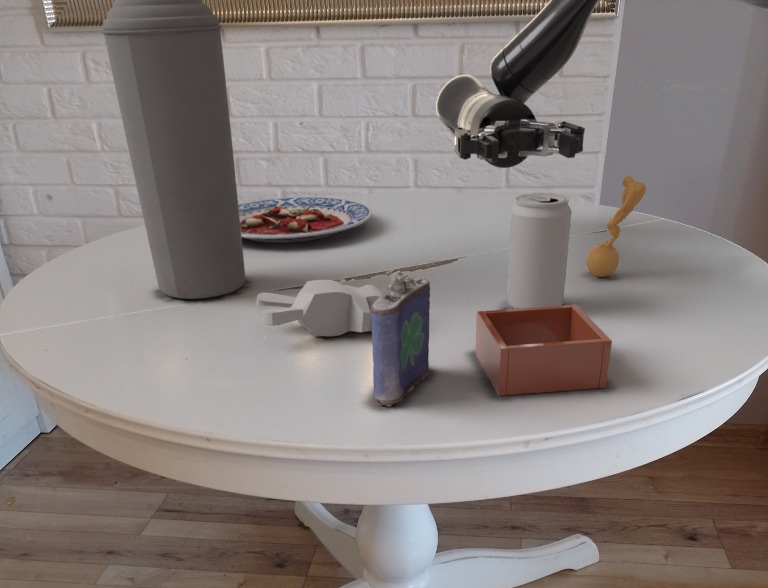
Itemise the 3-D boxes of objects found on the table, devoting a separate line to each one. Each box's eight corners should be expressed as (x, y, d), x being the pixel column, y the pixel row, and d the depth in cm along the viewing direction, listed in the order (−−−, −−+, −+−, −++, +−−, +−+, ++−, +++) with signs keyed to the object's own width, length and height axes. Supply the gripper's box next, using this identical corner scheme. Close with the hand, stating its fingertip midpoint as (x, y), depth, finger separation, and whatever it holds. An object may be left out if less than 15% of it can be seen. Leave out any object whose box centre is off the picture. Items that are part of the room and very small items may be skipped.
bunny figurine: (410, 300, 82) (265, 298, 79) (405, 347, 85) (264, 348, 81) (388, 274, 90) (255, 272, 86) (384, 318, 93) (255, 318, 89)
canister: (132, 292, 101) (62, -44, 82) (210, 267, 109) (163, -43, 90) (195, 311, 94) (135, -51, 75) (274, 283, 102) (237, -50, 83)
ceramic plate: (312, 259, 111) (310, 237, 109) (174, 241, 122) (170, 220, 120) (402, 218, 129) (401, 199, 127) (274, 205, 140) (272, 187, 139)
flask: (393, 409, 70) (390, 288, 64) (364, 403, 71) (358, 285, 65) (434, 370, 77) (434, 258, 71) (407, 366, 78) (404, 256, 72)
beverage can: (538, 320, 87) (547, 206, 81) (494, 307, 92) (499, 198, 85) (574, 306, 91) (585, 196, 84) (529, 294, 95) (537, 188, 88)
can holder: (572, 347, 81) (576, 304, 78) (606, 387, 72) (612, 340, 70) (475, 354, 80) (476, 311, 77) (498, 396, 72) (500, 349, 69)
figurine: (594, 265, 104) (605, 167, 97) (640, 270, 102) (655, 170, 95) (575, 283, 98) (586, 180, 91) (624, 289, 96) (639, 183, 89)
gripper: (442, 99, 97) (470, 114, 83) (556, 93, 98) (602, 107, 84) (442, 165, 101) (468, 190, 87) (552, 159, 102) (595, 182, 88)
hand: (534, 149), depth 86 cm, fingers open, 8 cm apart
